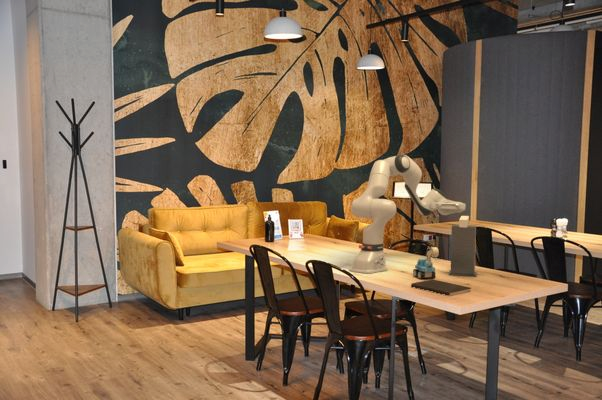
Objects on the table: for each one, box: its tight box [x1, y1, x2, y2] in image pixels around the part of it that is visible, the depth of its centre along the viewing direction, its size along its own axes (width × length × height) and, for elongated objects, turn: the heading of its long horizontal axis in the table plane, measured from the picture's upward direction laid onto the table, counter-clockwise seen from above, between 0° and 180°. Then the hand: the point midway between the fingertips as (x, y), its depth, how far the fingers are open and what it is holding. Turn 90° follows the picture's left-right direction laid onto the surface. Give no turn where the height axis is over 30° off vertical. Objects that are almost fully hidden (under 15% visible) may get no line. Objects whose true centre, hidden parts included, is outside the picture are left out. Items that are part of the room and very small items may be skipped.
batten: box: [458, 215, 470, 228], centre depth 322 cm, size 20×4×4 cm, turn 162°
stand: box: [447, 224, 478, 278], centre depth 321 cm, size 10×14×26 cm
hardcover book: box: [410, 279, 472, 296], centre depth 287 cm, size 16×23×2 cm
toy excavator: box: [412, 246, 440, 280], centre depth 310 cm, size 9×17×17 cm, turn 16°
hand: (448, 205), depth 349 cm, fingers open, 8 cm apart
